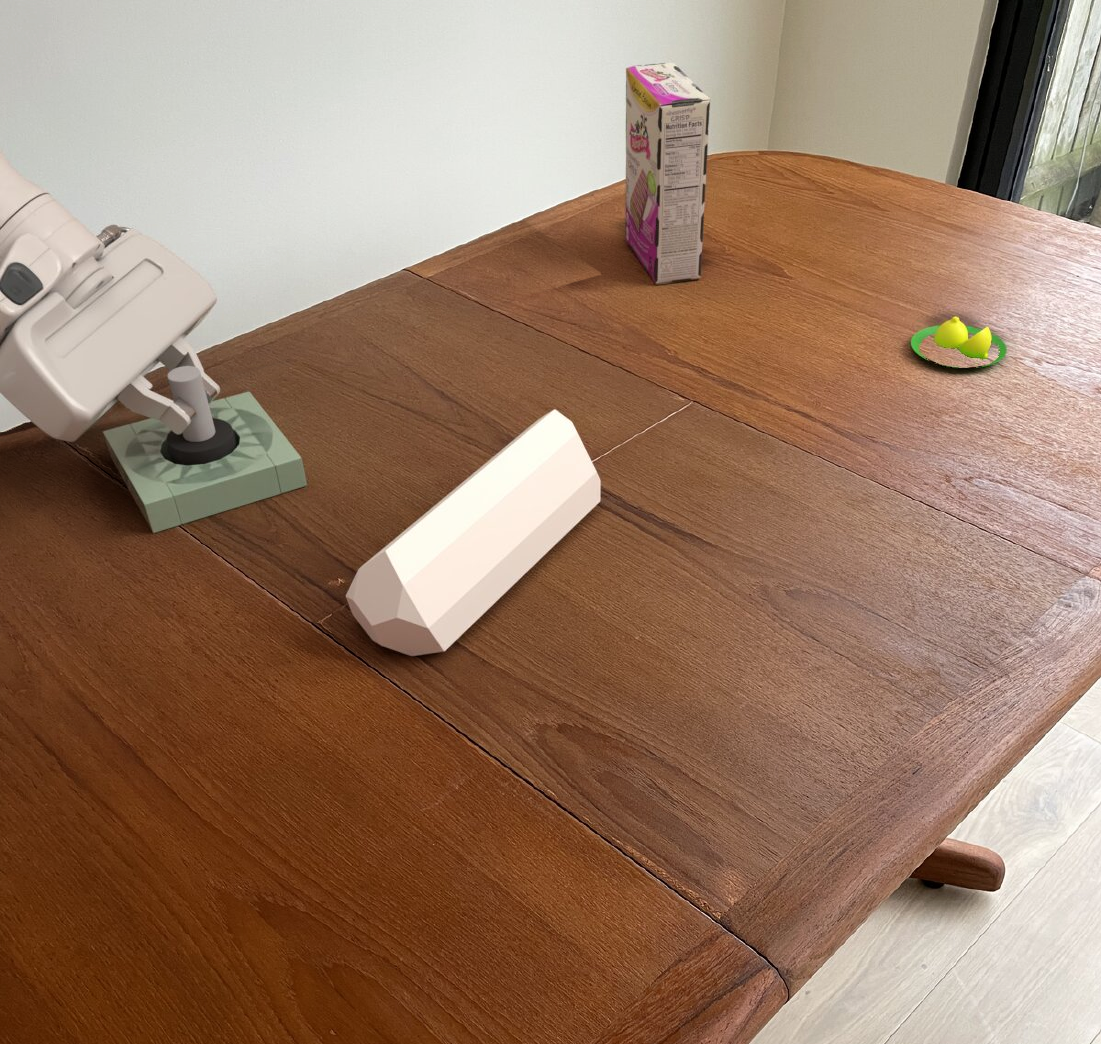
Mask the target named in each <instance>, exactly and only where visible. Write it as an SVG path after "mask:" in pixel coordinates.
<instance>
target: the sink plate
mask: <svg viewBox="0 0 1101 1044" xmlns="http://www.w3.org/2000/svg"><path fill="white" fill-rule="evenodd" d="M209 407H210V411H211V415H212V418H216V419H221V420H224V421H226V422H228V423H229V424H230V425H231V426H232V428H233V432H234V436H235V440H236V444H237V447H236V449H235V450H234V451H233V452H232V453H231V454H229V455H227V456H225V457H224V458H222V459H220V460H217V461H213V462H210V463H206V464H199V465H188V466H187V465H180V464H174V463H173V462H172V458H171V455H170V451H169V448H168V445H167V435H168V434H169V432H170V431H171V429H169V428H168V427H167V426H166V425H165V424H164V423H162V422H161V421H160V420H156V419H153V418H150V417H149V418H147V419H143V420H140V421H136V422H132V423H130V424H129V423H128V424H125V425H124V424H123V425H120V426H117V427H113V428H110V429H106V430H103V431H102V434H103V437H104V441H105V443H106V446H107V450H108V453H109V456H110V459H111V461H112V463H113V465H114V466H115V468H116V470H117V471H118V474H119V475H120V477H121V479H122V480H123V482H124V484H125V486H126V487H127V489H128V492H129V493H130V494H131V496H132V498H133V500H134V502H135V504H136V505H137V508H138V509H139V511H140V512H141V514H142V517H143V518H144V520H145V522H146V523H147V525H148V527H149V528H150V530H151V532H152V534H155V533H159V532H162V531H165V530H169V529H171V528H175V527H178V526H181V525H185V524H188V523H191V522H194V521H197V520H202V519H203V518H204V519H205V518H207V517H211V516H215V515H217V514H220V513H221V514H222V513H224V512H227V511H231V510H233V509H236V508H240V507H243V506H246V505H249V504H250V505H251V504H252V503H255V502H259V501H262V500H266V499H269V498H272V497H275V496H279V495H281V494H284V493H288V492H291V491H294V490H298V489H300V488H301V489H302V488H305V487H307V486H308V483H307V482H308V481H307V477H306V472H305V467H304V463H303V458H302V456H301V455H300V453H298V451H297V450H296V448H295V447H294V446H293V445H292V444H291V442H290V440H288V438H287V437H286V436H285V435H284V433H283V432H282V431H281V430H280V429H279V427H278V426H277V425H276V423H275V422H274V420H272V418H271V417H270V415H269V414H268V413H267V412H266V410H265V409H264V408H263V407H262V405H261V404H260V403H259V401H258V400H257V399H256V397H255V396H254V395H253V394H252V392H251V391H249V390H248V391H245V392H242V393H237V394H234V395H231V396H227V397H225V398H223V397H222V398H219V399H216V400H215V399H214V400H213V401H212V402H211V403H210V404H209Z"/></svg>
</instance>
